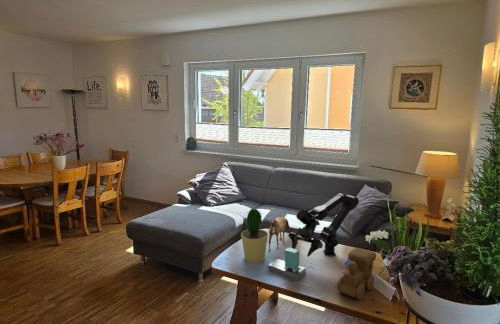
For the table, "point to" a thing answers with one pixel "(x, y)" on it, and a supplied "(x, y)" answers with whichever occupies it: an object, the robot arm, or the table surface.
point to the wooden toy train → (358, 273)
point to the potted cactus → (254, 238)
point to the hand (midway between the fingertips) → (299, 254)
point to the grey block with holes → (279, 268)
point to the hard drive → (346, 262)
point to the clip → (292, 259)
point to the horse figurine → (278, 229)
